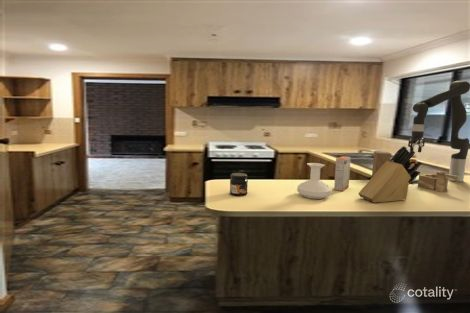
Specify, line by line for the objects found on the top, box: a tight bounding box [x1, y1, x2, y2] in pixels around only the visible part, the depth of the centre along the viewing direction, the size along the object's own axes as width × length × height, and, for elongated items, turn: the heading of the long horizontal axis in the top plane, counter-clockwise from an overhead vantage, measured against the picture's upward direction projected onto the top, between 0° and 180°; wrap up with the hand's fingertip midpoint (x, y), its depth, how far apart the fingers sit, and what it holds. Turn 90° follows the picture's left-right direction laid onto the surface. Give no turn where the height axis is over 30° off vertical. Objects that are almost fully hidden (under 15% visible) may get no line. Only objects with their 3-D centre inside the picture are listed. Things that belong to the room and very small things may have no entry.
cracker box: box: [333, 155, 352, 192], centre depth 201 cm, size 14×6×21 cm, turn 145°
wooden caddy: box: [417, 171, 449, 193], centre depth 210 cm, size 14×16×12 cm
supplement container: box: [229, 172, 248, 197], centre depth 183 cm, size 10×10×12 cm
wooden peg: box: [436, 171, 459, 180], centre depth 200 cm, size 3×12×3 cm, turn 23°
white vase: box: [296, 162, 333, 200], centre depth 182 cm, size 20×20×19 cm
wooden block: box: [371, 150, 392, 177], centre depth 239 cm, size 10×10×20 cm
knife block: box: [358, 145, 422, 204], centre depth 179 cm, size 11×35×31 cm, turn 109°
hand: (415, 152), depth 228 cm, fingers open, 8 cm apart
